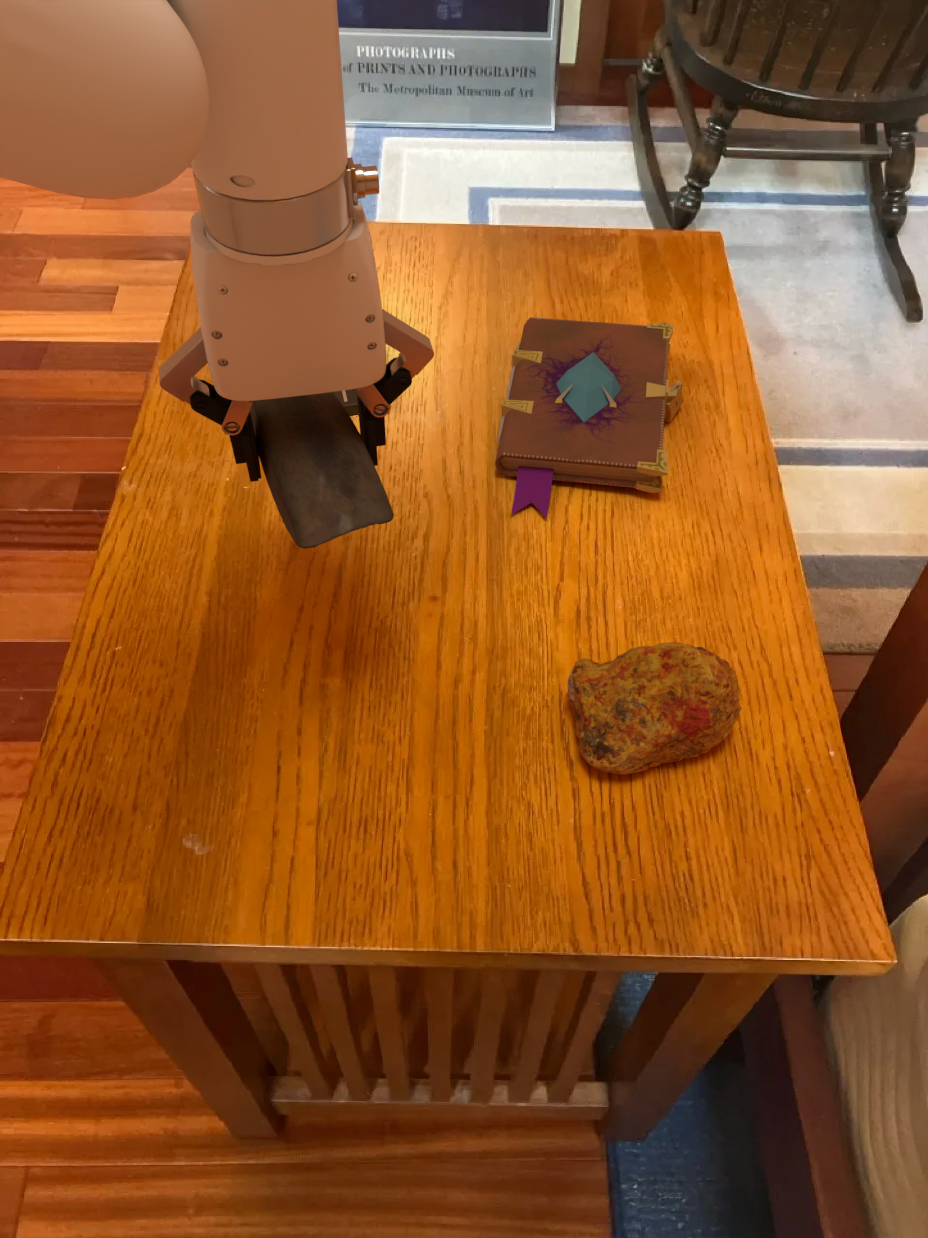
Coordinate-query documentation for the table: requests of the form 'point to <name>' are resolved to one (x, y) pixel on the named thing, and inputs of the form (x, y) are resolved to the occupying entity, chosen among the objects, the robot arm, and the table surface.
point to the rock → (652, 706)
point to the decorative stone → (317, 468)
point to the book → (586, 407)
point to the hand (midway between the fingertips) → (312, 457)
